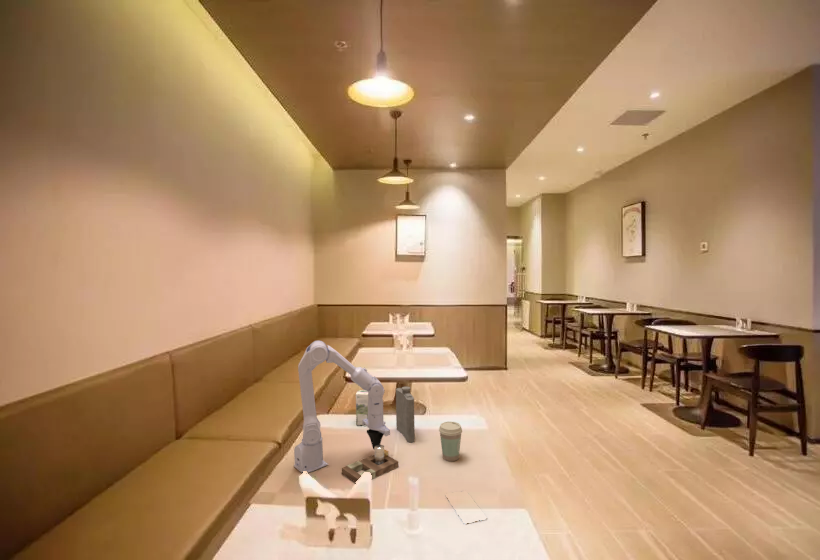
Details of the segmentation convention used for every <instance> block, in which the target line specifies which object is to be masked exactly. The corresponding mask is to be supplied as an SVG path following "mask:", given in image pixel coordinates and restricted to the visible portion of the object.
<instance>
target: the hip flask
mask: <svg viewBox="0 0 820 560" xmlns="http://www.w3.org/2000/svg"><path fill="white" fill-rule="evenodd" d="M395 407H396V408H395V410H396V411H395V413H396V414H395V415H396V416H395V417H396V418H395V421H396V427H395V428H396V431H398V432H399V433H401V435H403V438H404V439H405V440H406V443H409V444H412V443H415V440H416V439H415V430H416V429H415V398H414V396H413V395H412V394H411V386H402V387H397V388H396V389H395Z"/></svg>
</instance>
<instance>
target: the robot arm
mask: <svg viewBox="0 0 820 560" xmlns="http://www.w3.org/2000/svg"><path fill="white" fill-rule="evenodd" d="M324 362H326V364H327V363H328V364H331V363H332V364H333V363H334V364H335V365H336V366H338V367H339V368H341V369H342V370H343V371H345V372H346V373H348V375H350V380H351V381H352V382H353V383H355V385H357V386H358V387H359V388H360V389H361V390H366V391H367V392H368V419H367V418H366V419H363V420H362V425H366V426H365V427H367V430H366V433H367V435H368V437H369V439H370V443H371V447H372V449H373V450H374V447H375V446H376V445H381V442H382V440H383V437H388V436H391V429H390V428H388V427H387V425H386V421H385V420H384V395H385V388H384V385H383V384H382V383H381V381H380V380H379V378H378V377H377V376H373V375H372V374H370V373H369V372H368V369H367V368H365V367H361V366H358V367H357V366H354V364H353V363H351V362H350V361H349V360H348V359H347V358H345V357H344V356H343V355H342V354H341V353H340V352H338V350H336V349H335V348H333V347H332V346H331V345H329V344H326V342H325V341H322V340H314V341H313V342H311V343H310V345H308V346H307V347H306V349H305V351H304V353H303V356H302V357H301V359H300V361H299V362H298V366H297V367H298V368H297V372H298V379H299V380H298V381H299V386H300V388H299V389H300V397H301V398H300V399H301V405H302V406H301V407H302V414H303V424H302V438H301V442H299V444H297V445H295V446H294V448H293V451H294V452H293V454H294V457H293V459H294V460H293V461H294V464H293V467H294V468H295V469H297V470H298V471H299V472H301V473H302V472H303V471H307V472H308V473H312V472H314V471H316V470H319V469H322V468H324V467H326V466H328V465H329V464H328V462H326V461H325V460H324V454H323V453H324V450H323V443H324V442H323V437H322V431H321V422H320V421H319V418H318V417H317V415H318V414H317V409H316V400H315V389H314V382H313V373H312V372H313V371H314V370H315V369H316V367H317V366H319V365H320V364H322V363H324ZM308 473H307V474H308Z"/></svg>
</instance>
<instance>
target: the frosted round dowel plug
mask: <svg viewBox="0 0 820 560" xmlns="http://www.w3.org/2000/svg"><path fill="white" fill-rule="evenodd" d="M384 449H385V446H384V445H383V444H380V445H376V446H375V447H374V449H373V450H374V454H375V464H377V465H381V464H383V463H384Z"/></svg>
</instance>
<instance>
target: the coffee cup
mask: <svg viewBox="0 0 820 560" xmlns="http://www.w3.org/2000/svg"><path fill="white" fill-rule="evenodd" d="M438 432H439V435H440V444H441V452H442V458H443V459H444V460H445V461H448V462H455V461H457V460H459V459H460V451H461V443H462V441H461V439H462V433H463V427H462V426H461V424H460V423H459V422H456V421H444V422H442V423H440V426H439V428H438Z"/></svg>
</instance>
